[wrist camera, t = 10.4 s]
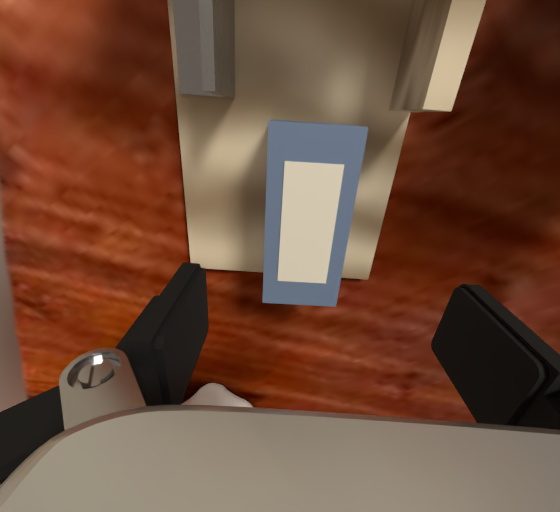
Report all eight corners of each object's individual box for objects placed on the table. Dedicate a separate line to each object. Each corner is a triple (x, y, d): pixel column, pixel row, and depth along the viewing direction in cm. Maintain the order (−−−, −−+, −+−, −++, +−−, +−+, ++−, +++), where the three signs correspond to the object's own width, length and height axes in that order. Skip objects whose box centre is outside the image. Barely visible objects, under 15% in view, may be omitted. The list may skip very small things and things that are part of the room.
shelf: (365, 274, 26) (423, 388, 15) (193, 263, 25) (128, 370, 15) (467, -137, 14) (996, -863, 4) (158, -167, 14) (-242, -1055, 3)
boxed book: (326, 272, 25) (336, 307, 20) (266, 268, 25) (262, 303, 20) (349, 124, 19) (369, 127, 15) (271, 119, 19) (268, 120, 15)
